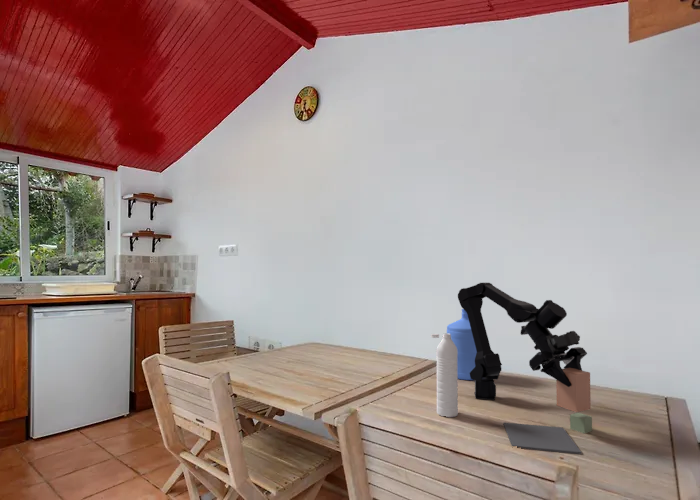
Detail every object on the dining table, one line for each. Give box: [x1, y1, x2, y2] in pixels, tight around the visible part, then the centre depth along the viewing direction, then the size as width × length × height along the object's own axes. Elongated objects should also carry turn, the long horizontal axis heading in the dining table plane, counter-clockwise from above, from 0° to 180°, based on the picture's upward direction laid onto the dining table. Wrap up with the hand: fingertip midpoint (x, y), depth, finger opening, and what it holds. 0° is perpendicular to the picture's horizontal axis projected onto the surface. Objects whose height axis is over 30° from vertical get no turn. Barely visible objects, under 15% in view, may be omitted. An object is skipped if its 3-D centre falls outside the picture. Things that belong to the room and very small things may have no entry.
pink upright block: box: [555, 367, 592, 413], centre depth 115 cm, size 6×6×10 cm
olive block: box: [569, 412, 593, 435], centre depth 116 cm, size 4×4×4 cm
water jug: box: [446, 308, 477, 381], centre depth 174 cm, size 16×16×28 cm
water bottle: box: [430, 332, 459, 418], centre depth 128 cm, size 9×6×25 cm
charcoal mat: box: [503, 421, 582, 455], centre depth 110 cm, size 16×16×1 cm
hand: (577, 384), depth 113 cm, fingers closed on pink upright block, 6 cm apart
